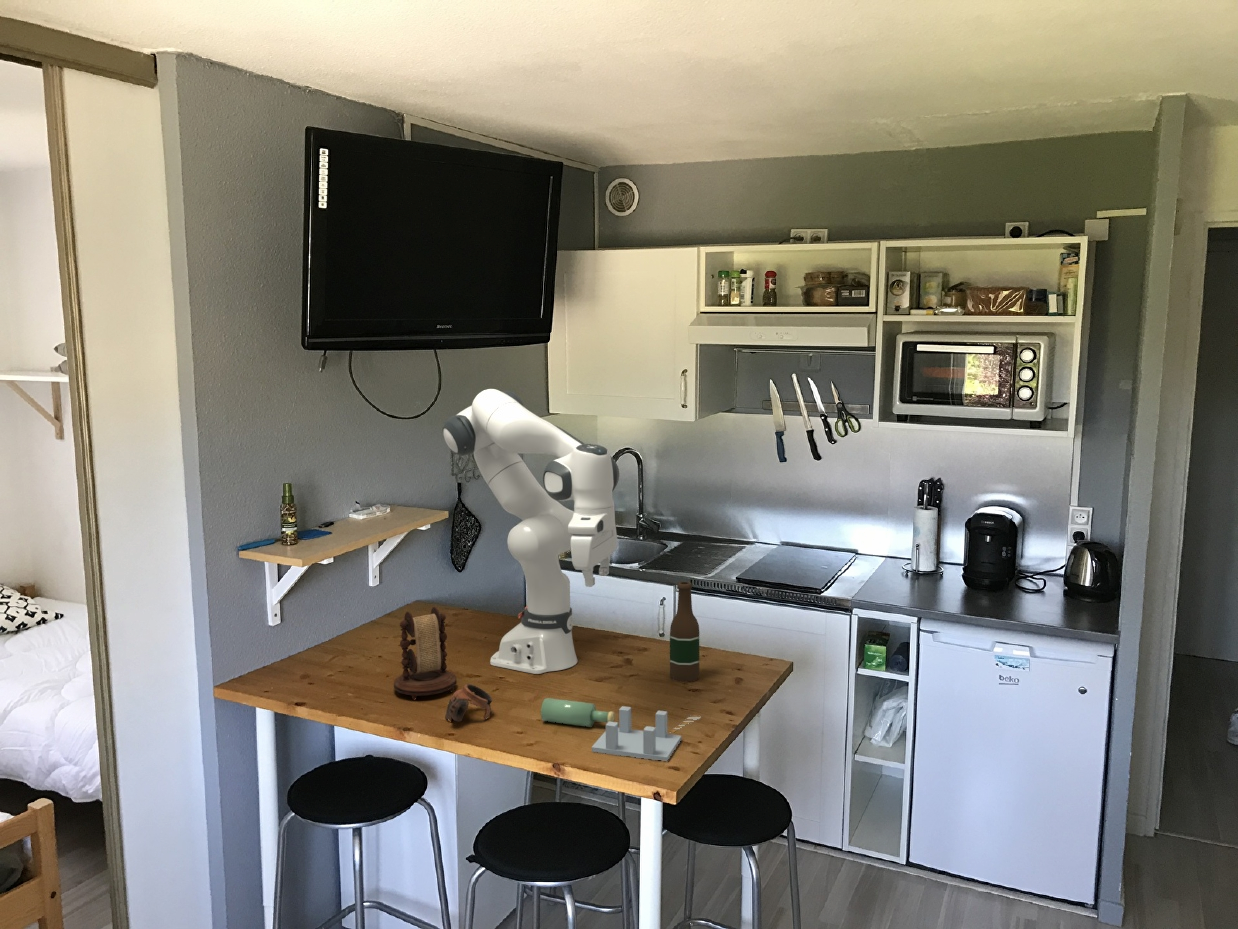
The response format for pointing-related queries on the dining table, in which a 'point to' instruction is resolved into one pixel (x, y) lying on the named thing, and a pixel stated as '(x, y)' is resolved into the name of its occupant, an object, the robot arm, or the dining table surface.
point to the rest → (637, 738)
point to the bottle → (573, 712)
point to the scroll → (424, 656)
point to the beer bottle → (684, 639)
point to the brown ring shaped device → (460, 702)
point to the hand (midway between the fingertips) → (597, 580)
